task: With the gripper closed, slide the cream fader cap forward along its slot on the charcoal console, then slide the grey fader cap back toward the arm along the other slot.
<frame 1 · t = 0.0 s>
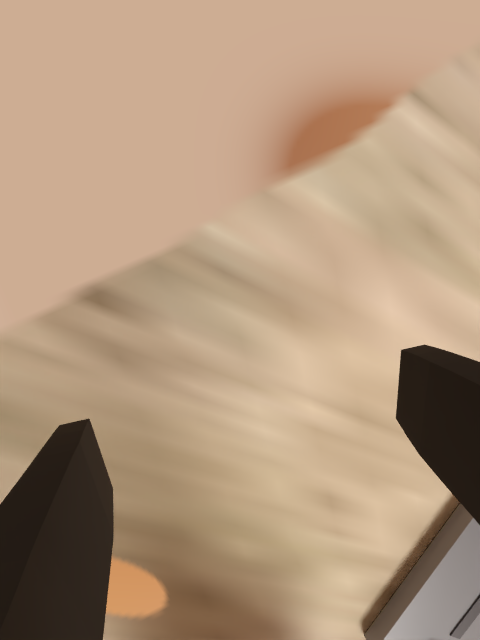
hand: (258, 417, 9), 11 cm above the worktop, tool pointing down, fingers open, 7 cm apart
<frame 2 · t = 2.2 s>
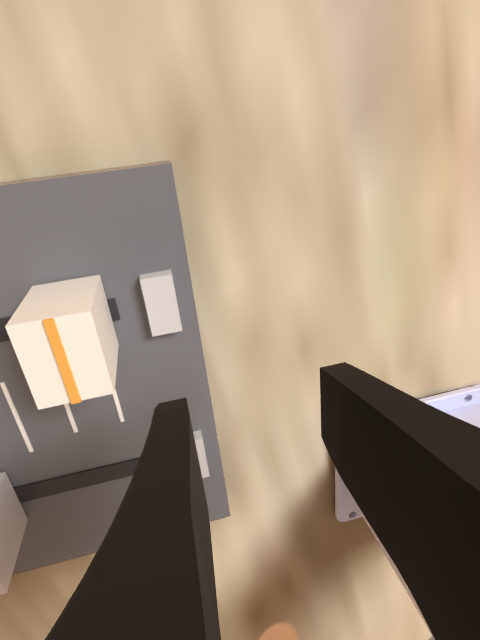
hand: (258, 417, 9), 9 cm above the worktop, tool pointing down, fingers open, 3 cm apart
fader console: (36, 398, 18), on the worktop
fader cap cream: (71, 337, 14), point 3 cm above the worktop, slide at 0.0 cm, touching fader console
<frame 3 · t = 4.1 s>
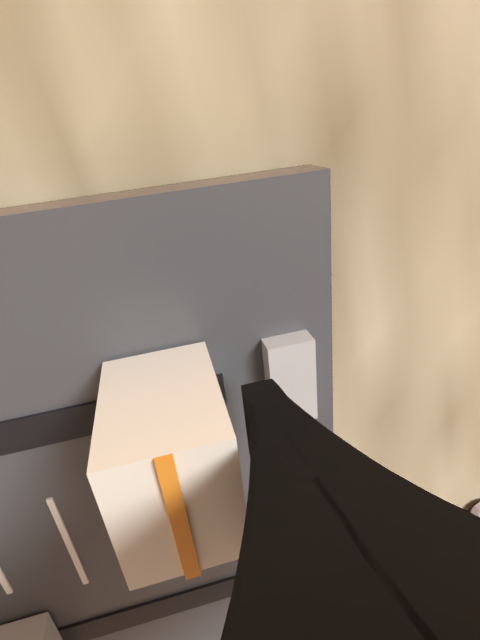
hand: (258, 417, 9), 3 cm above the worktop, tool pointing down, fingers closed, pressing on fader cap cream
fader console: (91, 503, 13), on the worktop
fader cap cream: (172, 452, 9), point 3 cm above the worktop, slide at 0.0 cm, touching fader console, gripper
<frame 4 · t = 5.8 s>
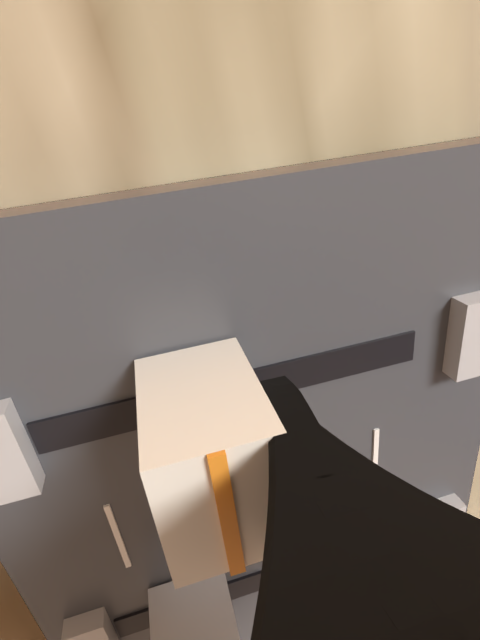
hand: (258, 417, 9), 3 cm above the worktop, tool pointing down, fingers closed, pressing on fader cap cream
fader console: (258, 462, 13), on the worktop
fader cap cream: (209, 449, 9), point 3 cm above the worktop, slide at 4.6 cm, touching fader console, gripper
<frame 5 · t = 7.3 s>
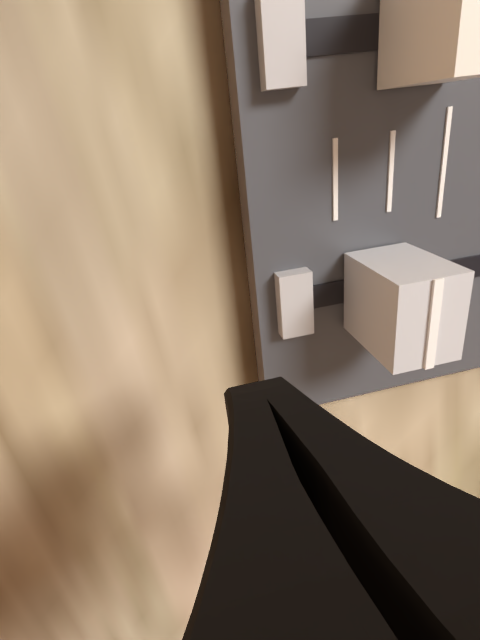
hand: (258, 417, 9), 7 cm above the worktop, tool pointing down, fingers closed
fader console: (434, 160, 15), on the worktop
fader cap cream: (458, 12, 11), point 3 cm above the worktop, slide at 5.0 cm, touching fader console
fader cap grey: (400, 304, 14), point 3 cm above the worktop, slide at 6.0 cm, touching fader console
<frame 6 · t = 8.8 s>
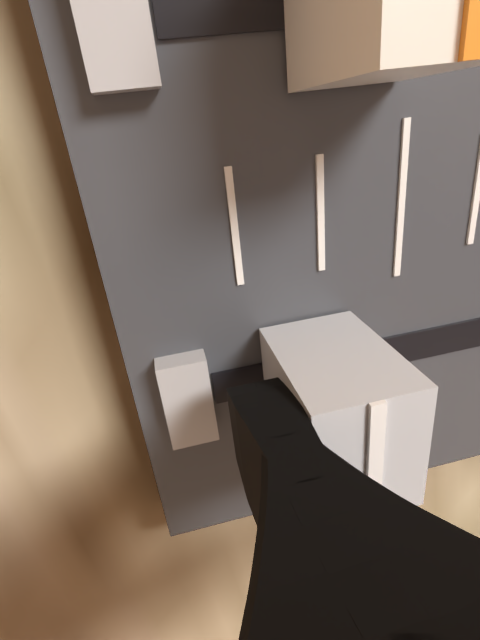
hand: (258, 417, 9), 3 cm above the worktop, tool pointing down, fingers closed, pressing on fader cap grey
fader console: (392, 192, 11), on the worktop
fader cap grey: (335, 410, 9), point 3 cm above the worktop, slide at 6.0 cm, touching fader console, gripper
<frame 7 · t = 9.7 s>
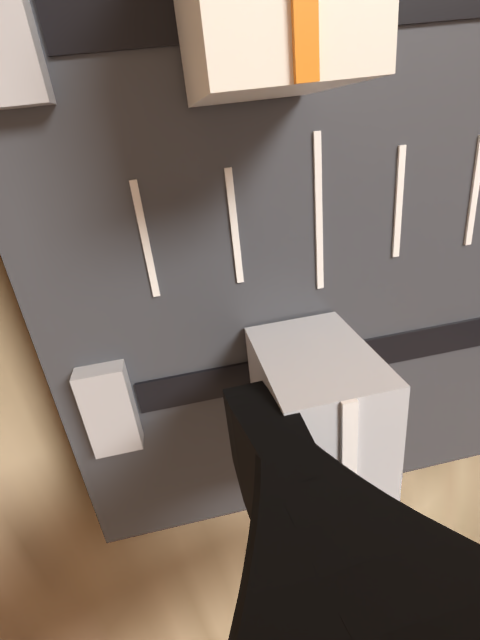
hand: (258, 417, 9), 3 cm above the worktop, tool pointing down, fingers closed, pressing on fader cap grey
fader console: (320, 204, 11), on the worktop
fader cap grey: (316, 409, 10), point 3 cm above the worktop, slide at 4.3 cm, touching fader console, gripper
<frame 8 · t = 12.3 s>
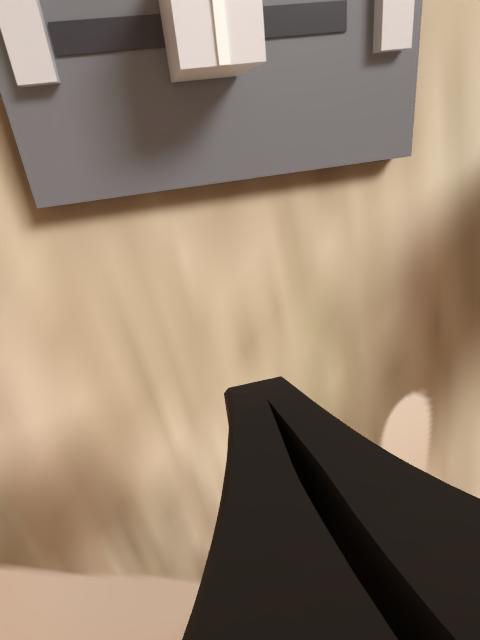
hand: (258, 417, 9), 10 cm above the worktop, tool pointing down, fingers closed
fader cap grey: (207, 14, 12), point 3 cm above the worktop, slide at 3.8 cm, touching fader console
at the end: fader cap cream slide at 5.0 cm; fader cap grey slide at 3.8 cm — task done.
